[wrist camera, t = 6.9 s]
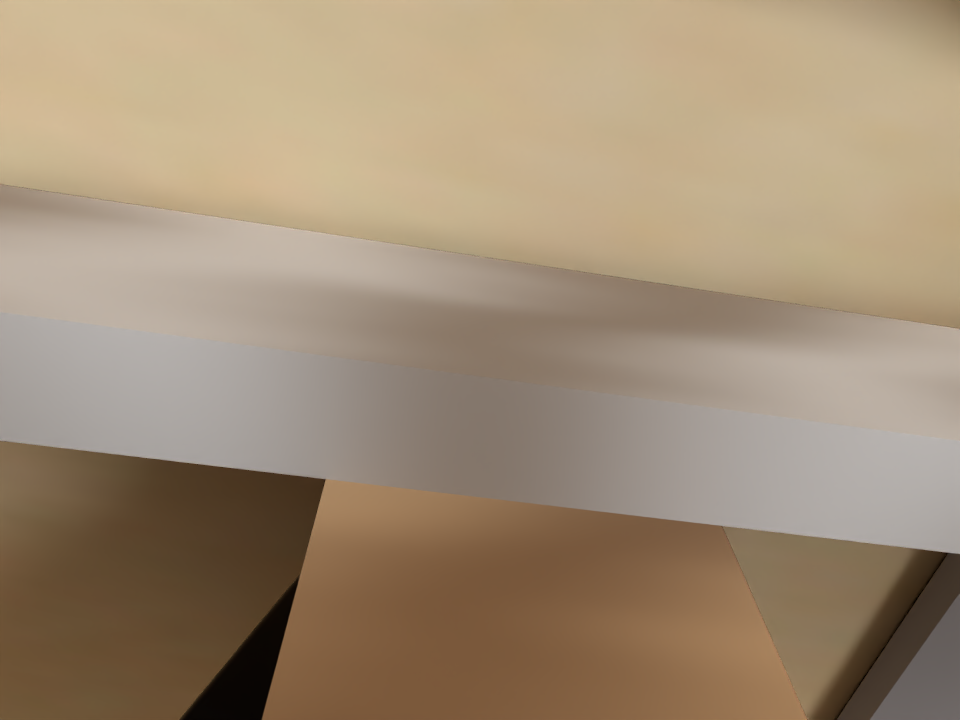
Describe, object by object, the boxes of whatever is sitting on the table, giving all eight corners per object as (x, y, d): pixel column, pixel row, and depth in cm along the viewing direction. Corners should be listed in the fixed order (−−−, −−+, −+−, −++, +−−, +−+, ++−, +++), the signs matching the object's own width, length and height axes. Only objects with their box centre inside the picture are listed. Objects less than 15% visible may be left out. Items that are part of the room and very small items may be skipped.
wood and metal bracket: (1037, 341, 8) (1653, 764, 4) (778, 751, 12) (946, 1187, 8) (-51, 176, 7) (-831, 521, 3) (54, 689, 11) (-206, 1156, 7)
